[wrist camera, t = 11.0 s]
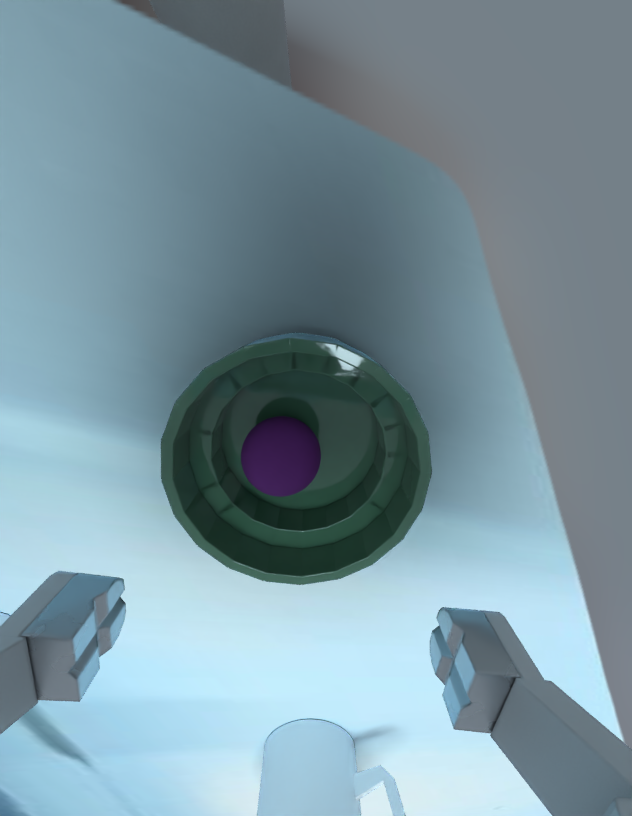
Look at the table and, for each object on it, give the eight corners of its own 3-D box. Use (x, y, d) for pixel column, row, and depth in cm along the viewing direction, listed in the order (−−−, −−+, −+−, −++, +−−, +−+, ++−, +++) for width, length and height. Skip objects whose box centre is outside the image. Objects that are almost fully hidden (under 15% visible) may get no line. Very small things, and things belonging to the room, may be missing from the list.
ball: (273, 401, 20) (225, 417, 16) (338, 419, 18) (302, 441, 14) (267, 465, 21) (221, 494, 17) (327, 487, 20) (292, 524, 16)
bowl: (199, 318, 18) (159, 320, 14) (424, 348, 19) (461, 360, 14) (194, 515, 22) (160, 571, 17) (382, 535, 23) (400, 595, 18)
